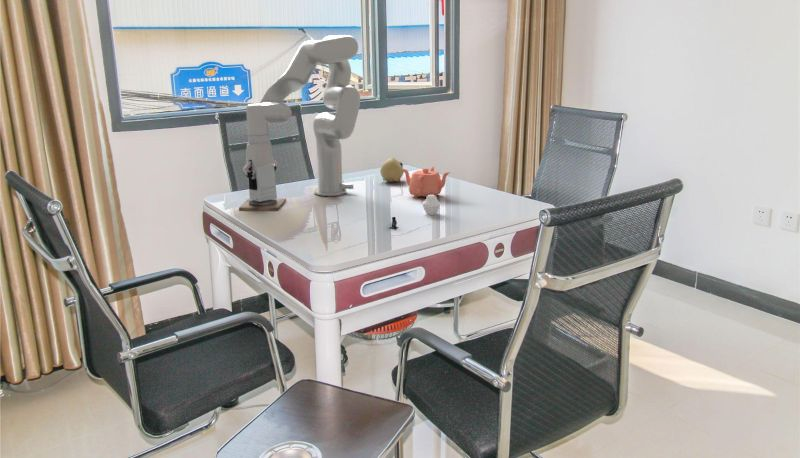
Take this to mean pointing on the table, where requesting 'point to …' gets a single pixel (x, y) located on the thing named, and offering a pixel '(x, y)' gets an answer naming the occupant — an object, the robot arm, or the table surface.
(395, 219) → the sculpture
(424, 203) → the muffin
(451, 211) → the table surface
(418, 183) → the teapot
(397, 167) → the pale yellow rounded lump
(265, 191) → the supplement box
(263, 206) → the brown square board
